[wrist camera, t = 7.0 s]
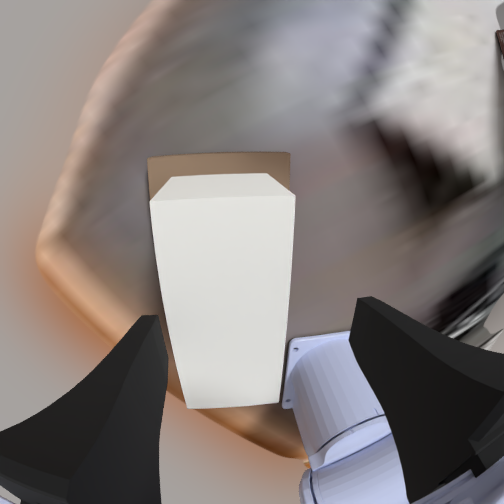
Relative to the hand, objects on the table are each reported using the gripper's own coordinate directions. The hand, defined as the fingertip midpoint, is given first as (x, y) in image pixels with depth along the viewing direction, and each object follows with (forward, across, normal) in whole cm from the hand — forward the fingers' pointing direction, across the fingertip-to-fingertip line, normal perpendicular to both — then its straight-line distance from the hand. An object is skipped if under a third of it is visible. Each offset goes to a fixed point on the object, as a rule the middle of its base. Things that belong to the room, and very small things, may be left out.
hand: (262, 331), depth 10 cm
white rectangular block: (+6, +1, 0) cm, 6 cm away
